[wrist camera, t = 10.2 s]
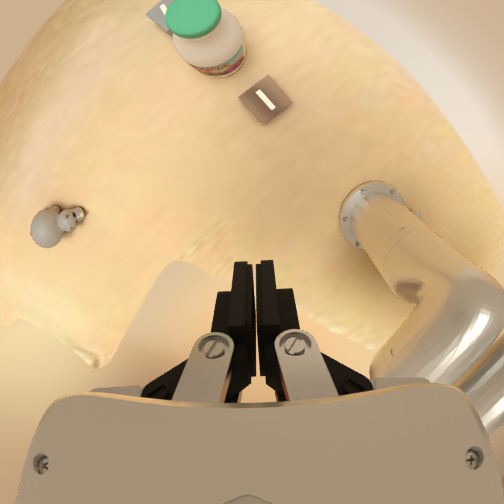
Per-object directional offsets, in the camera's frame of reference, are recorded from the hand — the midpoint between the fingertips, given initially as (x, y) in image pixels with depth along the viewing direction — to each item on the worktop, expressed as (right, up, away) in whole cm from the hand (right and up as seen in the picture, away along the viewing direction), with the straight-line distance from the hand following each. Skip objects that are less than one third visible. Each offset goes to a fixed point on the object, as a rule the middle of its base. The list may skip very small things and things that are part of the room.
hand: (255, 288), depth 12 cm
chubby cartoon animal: (-36, +9, +32) cm, 50 cm away
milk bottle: (-5, +30, +20) cm, 37 cm away
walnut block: (+2, +24, +24) cm, 33 cm away
